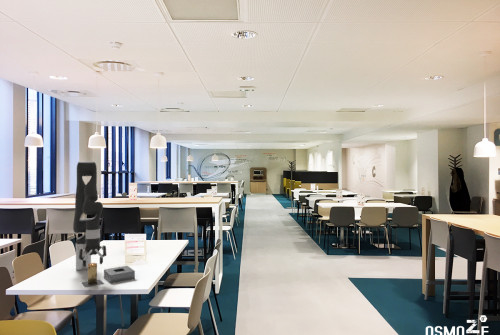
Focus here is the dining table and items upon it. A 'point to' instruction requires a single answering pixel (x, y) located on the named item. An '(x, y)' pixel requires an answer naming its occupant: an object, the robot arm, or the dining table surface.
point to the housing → (119, 274)
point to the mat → (92, 284)
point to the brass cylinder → (92, 273)
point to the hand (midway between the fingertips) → (92, 265)
